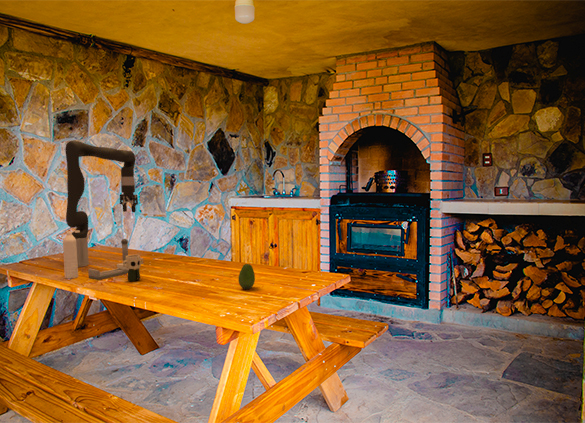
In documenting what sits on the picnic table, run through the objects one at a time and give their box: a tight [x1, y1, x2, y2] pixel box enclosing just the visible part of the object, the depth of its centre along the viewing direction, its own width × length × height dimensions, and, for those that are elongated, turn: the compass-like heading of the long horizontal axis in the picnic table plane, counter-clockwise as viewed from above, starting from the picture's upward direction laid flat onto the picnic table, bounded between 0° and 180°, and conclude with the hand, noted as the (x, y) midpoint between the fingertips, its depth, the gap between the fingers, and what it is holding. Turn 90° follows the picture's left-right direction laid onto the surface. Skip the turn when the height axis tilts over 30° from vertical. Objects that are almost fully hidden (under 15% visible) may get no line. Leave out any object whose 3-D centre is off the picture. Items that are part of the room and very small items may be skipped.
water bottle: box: [62, 230, 80, 280], centre depth 230 cm, size 9×6×25 cm
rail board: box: [87, 267, 140, 281], centre depth 236 cm, size 9×25×5 cm, turn 145°
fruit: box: [238, 263, 256, 290], centre depth 202 cm, size 8×8×12 cm
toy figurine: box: [122, 254, 144, 282], centre depth 221 cm, size 11×7×13 cm, turn 138°
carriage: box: [116, 238, 129, 269], centre depth 241 cm, size 6×7×16 cm
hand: (129, 211), depth 253 cm, fingers open, 8 cm apart
